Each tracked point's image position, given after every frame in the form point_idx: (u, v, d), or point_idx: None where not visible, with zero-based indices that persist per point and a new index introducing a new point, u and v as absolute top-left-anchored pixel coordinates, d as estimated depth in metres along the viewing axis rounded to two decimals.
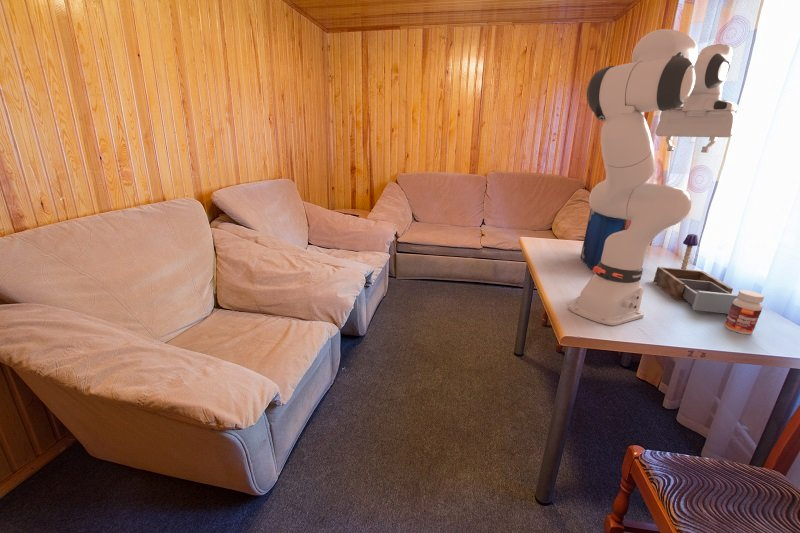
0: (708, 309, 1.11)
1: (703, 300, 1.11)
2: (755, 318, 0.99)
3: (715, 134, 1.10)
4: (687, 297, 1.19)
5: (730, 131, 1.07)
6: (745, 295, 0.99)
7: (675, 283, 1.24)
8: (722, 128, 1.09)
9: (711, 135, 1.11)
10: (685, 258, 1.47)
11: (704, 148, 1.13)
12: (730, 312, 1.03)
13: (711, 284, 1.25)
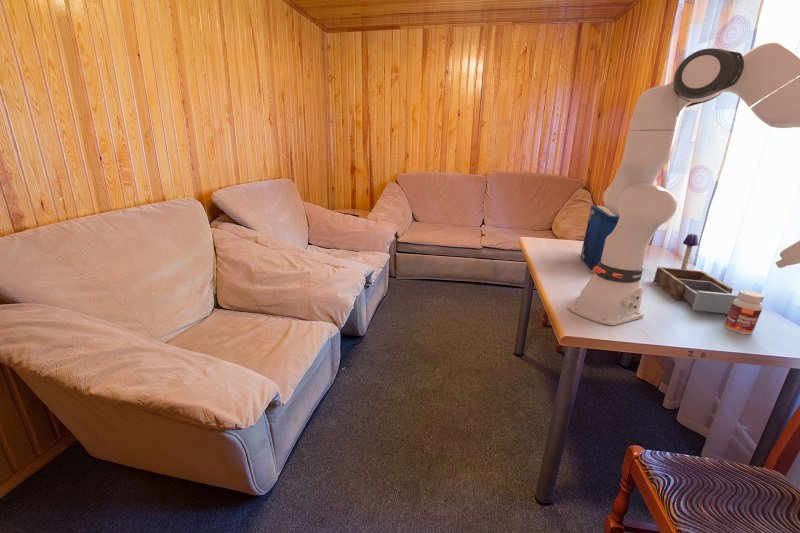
0: (708, 309, 1.11)
1: (703, 300, 1.11)
2: (755, 318, 0.99)
3: None
4: (687, 297, 1.19)
5: (783, 251, 0.87)
6: (745, 295, 0.99)
7: (675, 283, 1.24)
8: None
9: None
10: (685, 258, 1.47)
11: None
12: (730, 312, 1.03)
13: (711, 284, 1.25)
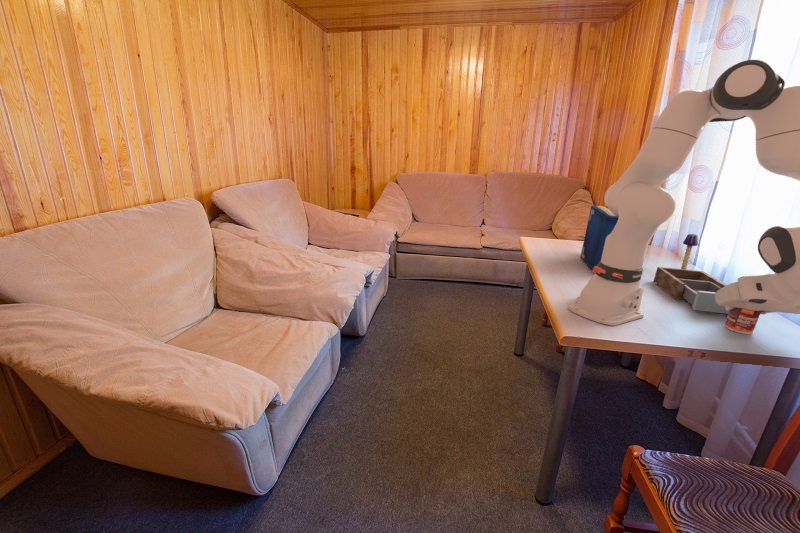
0: (708, 309, 1.11)
1: (703, 300, 1.11)
2: (755, 318, 0.99)
3: None
4: (687, 297, 1.19)
5: (716, 292, 0.99)
6: None
7: (675, 283, 1.24)
8: None
9: None
10: (685, 258, 1.47)
11: None
12: (730, 312, 1.03)
13: (711, 284, 1.25)
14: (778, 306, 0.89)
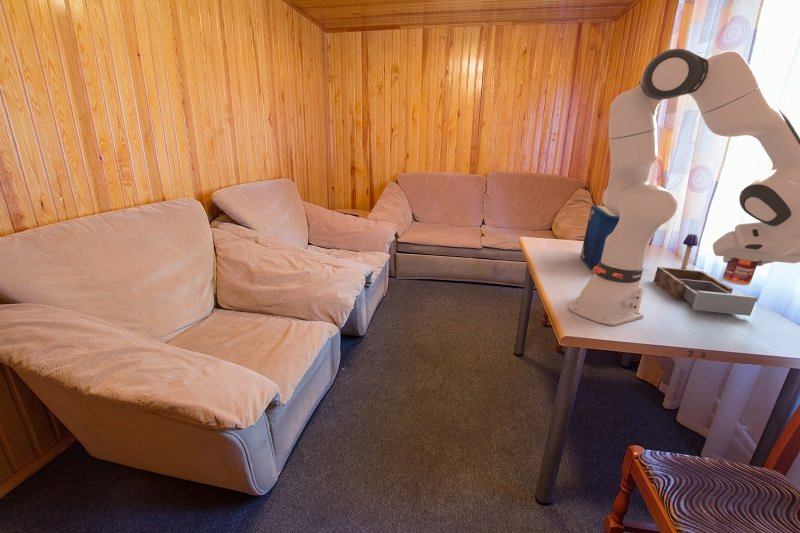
0: (708, 309, 1.11)
1: (703, 300, 1.11)
2: (752, 269, 1.02)
3: None
4: (687, 297, 1.19)
5: (714, 242, 1.02)
6: None
7: (675, 283, 1.24)
8: None
9: None
10: (685, 258, 1.47)
11: None
12: (728, 265, 1.06)
13: (711, 284, 1.25)
14: (774, 251, 0.92)
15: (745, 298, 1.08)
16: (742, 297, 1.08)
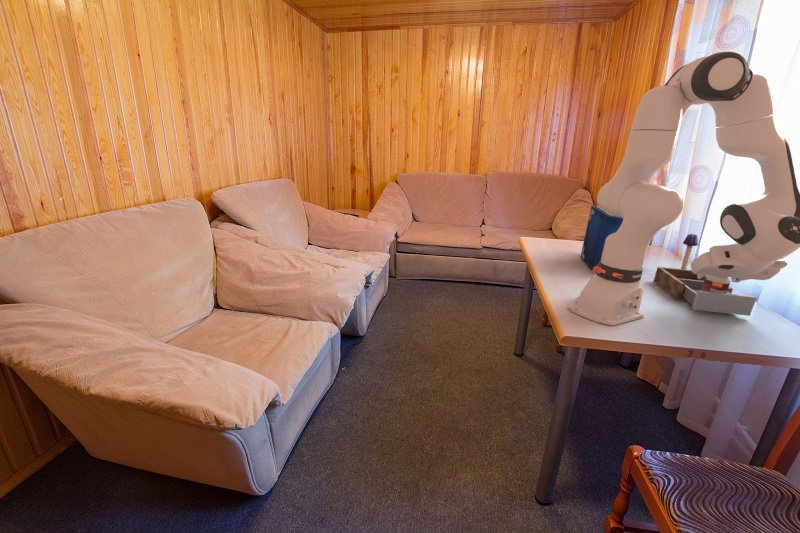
0: (708, 309, 1.12)
1: (703, 300, 1.11)
2: (724, 290, 1.12)
3: None
4: (687, 297, 1.19)
5: (692, 261, 1.12)
6: None
7: (675, 283, 1.24)
8: None
9: None
10: (685, 258, 1.47)
11: None
12: (703, 286, 1.16)
13: None
14: (744, 271, 1.01)
15: (745, 298, 1.08)
16: (742, 297, 1.08)
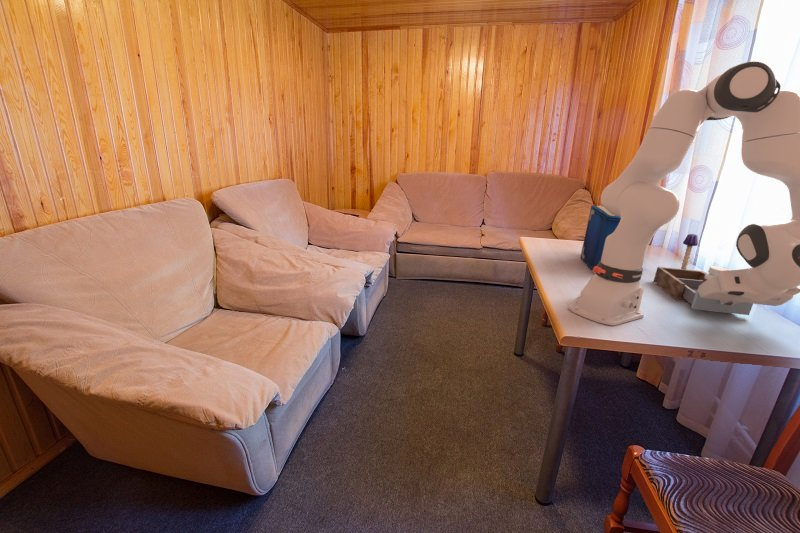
0: (707, 308, 1.12)
1: (702, 299, 1.11)
2: None
3: None
4: (686, 296, 1.20)
5: (700, 285, 1.07)
6: (714, 270, 1.13)
7: (675, 283, 1.24)
8: None
9: None
10: (685, 258, 1.47)
11: None
12: None
13: None
14: (755, 298, 0.96)
15: None
16: None
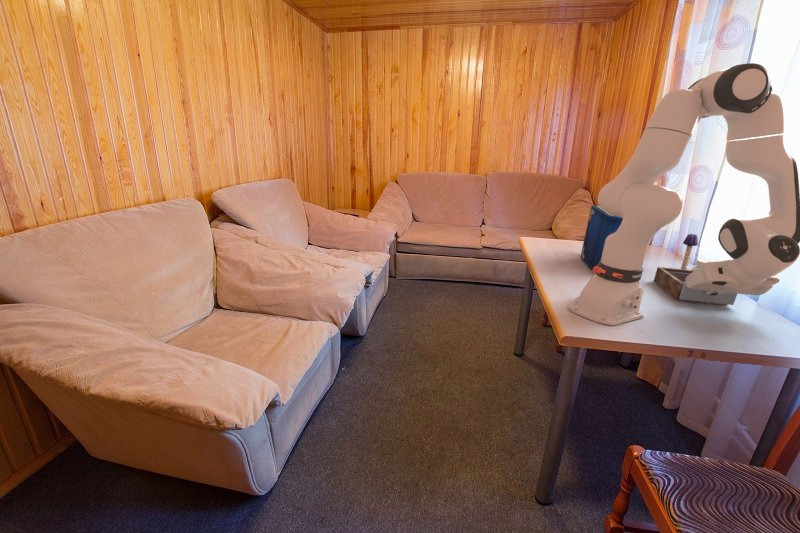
0: (694, 299, 1.19)
1: (689, 290, 1.18)
2: None
3: None
4: None
5: (687, 276, 1.14)
6: (701, 262, 1.20)
7: (675, 283, 1.24)
8: None
9: None
10: (685, 258, 1.47)
11: None
12: None
13: None
14: (737, 287, 1.03)
15: None
16: None
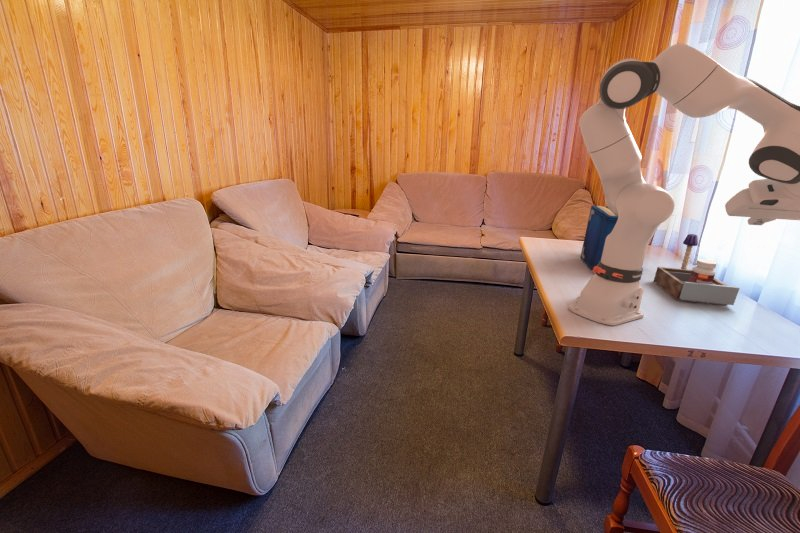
0: (694, 299, 1.19)
1: (689, 290, 1.18)
2: (709, 281, 1.20)
3: None
4: None
5: (727, 202, 0.99)
6: (701, 263, 1.20)
7: (675, 283, 1.24)
8: None
9: None
10: (685, 258, 1.47)
11: None
12: (690, 278, 1.23)
13: None
14: (790, 206, 0.89)
15: (728, 288, 1.16)
16: (726, 287, 1.16)
